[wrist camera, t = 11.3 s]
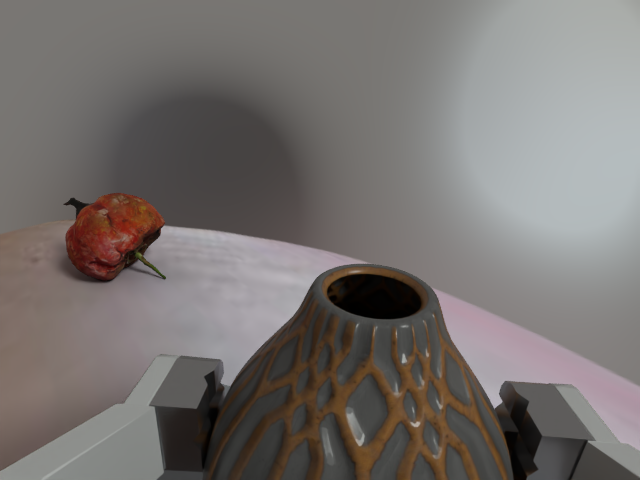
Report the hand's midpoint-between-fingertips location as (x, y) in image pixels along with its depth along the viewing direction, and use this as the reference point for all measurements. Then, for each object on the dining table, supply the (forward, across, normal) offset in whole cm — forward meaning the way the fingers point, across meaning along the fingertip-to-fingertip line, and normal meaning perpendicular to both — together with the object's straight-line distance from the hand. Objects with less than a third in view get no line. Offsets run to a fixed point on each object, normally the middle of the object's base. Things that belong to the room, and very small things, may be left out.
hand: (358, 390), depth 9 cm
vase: (-1, 0, +6) cm, 6 cm away
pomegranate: (+22, +19, +9) cm, 30 cm away
